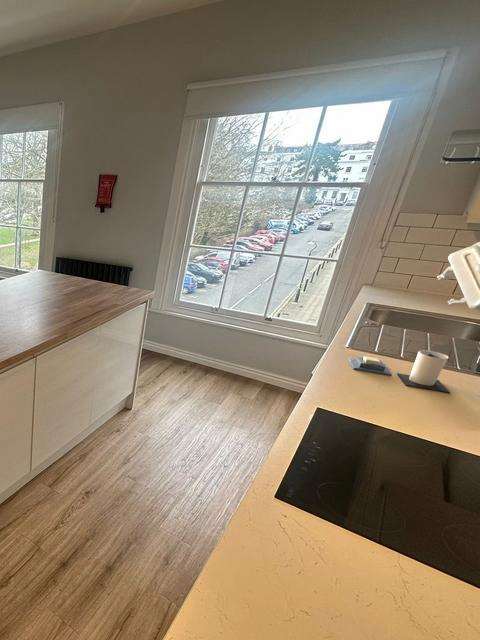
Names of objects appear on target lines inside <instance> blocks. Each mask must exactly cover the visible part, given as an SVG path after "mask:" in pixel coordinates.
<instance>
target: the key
mask: <svg viewBox="0 0 480 640" xmlns="http://www.w3.org/2000/svg"><path fill="white" fill-rule="evenodd" d="M362 358H363V361H364V362H365V363H370V364H376V365H379V363H380V361H381V360H380V359H379V358H378V357H373V356H366V355H364V356H363V357H362ZM379 360H380V361H379Z"/></svg>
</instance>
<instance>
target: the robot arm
mask: <svg viewBox="0 0 480 640" xmlns="http://www.w3.org/2000/svg"><path fill="white" fill-rule="evenodd" d="M447 260H448V262H449V264H450V266H448V267H447V268H446V269H445V270H444V271H443V272H442V273H441V274H438V275H437V276H436V277H437V279H438V281H440V282H445V281H446V280H449V279H450V276H451V275H452V274H454V276H455V278H456V281H457V283H458V285H459V287H460V290H461V292H462V294H463V296H464V297H462V298H460V299H457V298H451V299H449V300H447V304H448V306H449V307H455V306H458V305H467V306H468V308H469V309H471V310H474V311H480V241H478V242H476V243H474V244H472V245H471V246H467V247H465V248H462V249H459V250H456V251H455V252H452V253H450V254H449V256H448V257H447Z"/></svg>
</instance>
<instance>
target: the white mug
mask: <svg viewBox="0 0 480 640" xmlns="http://www.w3.org/2000/svg"><path fill="white" fill-rule="evenodd" d="M448 359H449V356H448V355H447V354H444V353H441V352H438V351H434V350H426V349H425V350H423V349H422V350H419V351H418V352H417V355H416V358H415V361H414V363H413V365H412V369H411V372H410V374H409V375H410V377H409V379H410V380H411V381H413V382H415V383H418V384H422V385H430V386H431V385H434V383H435V382H436V380H438V379H439V376H440V374H441V372H442V370H443V369H444V367H445V366H446V364H447V362H448Z"/></svg>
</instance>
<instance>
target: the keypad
mask: <svg viewBox="0 0 480 640" xmlns="http://www.w3.org/2000/svg"><path fill="white" fill-rule="evenodd" d="M363 358H364V357H361V356H356V358H350V357H348V358H347V361H348V363H349V365H350V367H351V368H352V370H353V371H358V372H362V373H363V372H364V373H370V374H374V375H381V376H386V377H387V376H388V377H393V373H392V372H391V371H390V369H389V367H387V365H386V364H385V363H384V362H382V360H380V359H379V361H380V363H379V365H376V364H370V363H365V362H364V361H363Z"/></svg>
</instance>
